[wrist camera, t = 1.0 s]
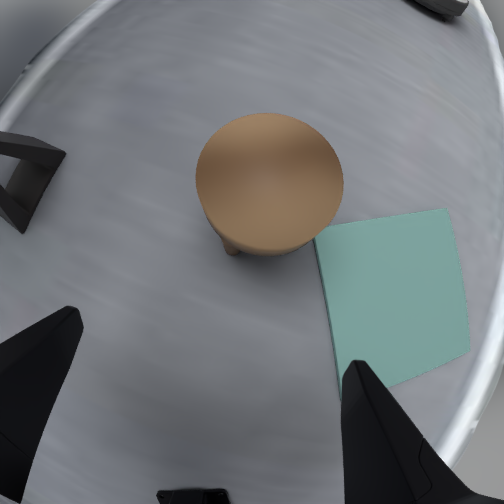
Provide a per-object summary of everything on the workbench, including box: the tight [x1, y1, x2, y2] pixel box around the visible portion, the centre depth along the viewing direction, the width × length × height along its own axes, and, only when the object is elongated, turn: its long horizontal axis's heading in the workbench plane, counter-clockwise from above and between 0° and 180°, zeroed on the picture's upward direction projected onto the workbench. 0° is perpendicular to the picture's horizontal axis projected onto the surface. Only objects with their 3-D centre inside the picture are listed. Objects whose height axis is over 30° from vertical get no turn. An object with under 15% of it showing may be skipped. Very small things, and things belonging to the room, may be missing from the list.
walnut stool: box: [196, 113, 344, 256], centre depth 18 cm, size 7×7×10 cm
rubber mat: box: [313, 208, 470, 400], centre depth 22 cm, size 14×14×1 cm
